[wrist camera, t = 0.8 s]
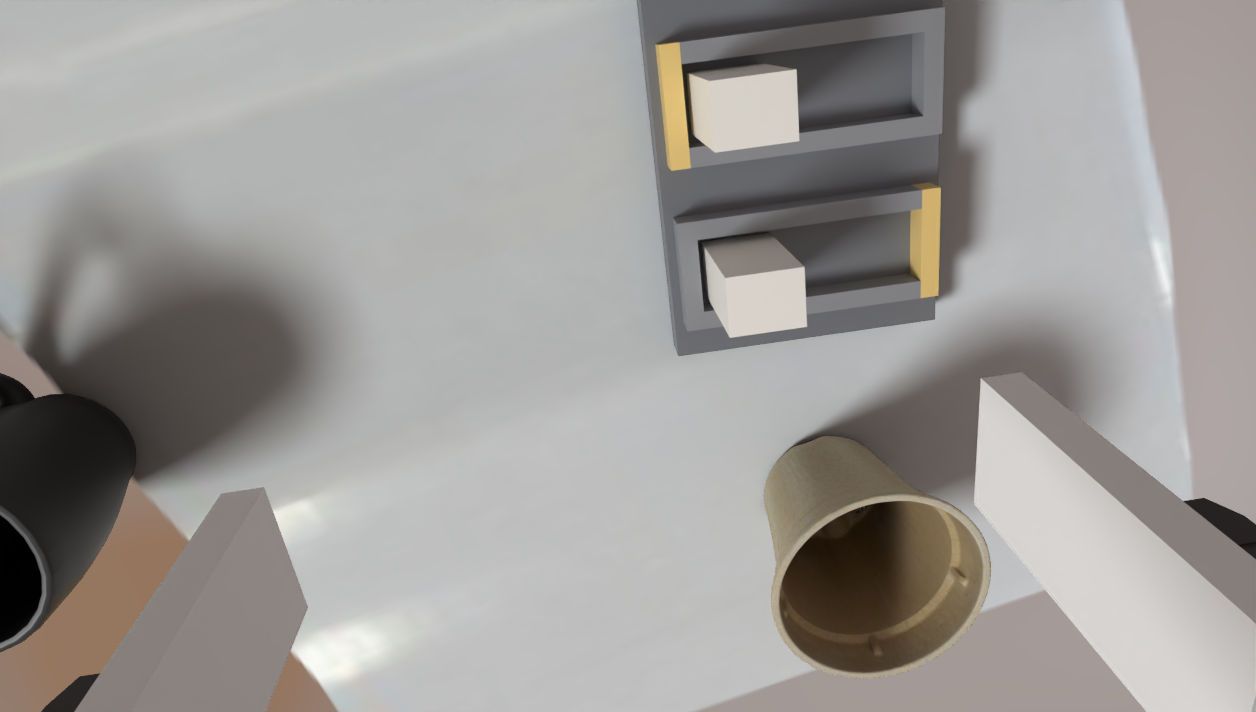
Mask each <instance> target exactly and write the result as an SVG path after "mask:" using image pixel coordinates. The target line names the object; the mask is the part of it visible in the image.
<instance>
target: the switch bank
mask: <svg viewBox="0 0 1256 712" xmlns="http://www.w3.org/2000/svg"><path fill="white" fill-rule="evenodd" d="M637 6H638V15H639V24H640V34H641V43H642V52H643V61H644V71H645V80H646V89H647V98H648V108H649V117H650V126H651V135H652V145H653V154H654V163H655V172H656V182H657V191H658V200H659V209H660V219H661V228H662V237H663V246H664V256H665V265H666V274H667V284H668V293H669V302H670V311H671V321H672V330H673V339H674V346H675V348H676V351H677V354H678V356H683V355H690V354H697V353H704V352H711V351H718V350H725V349H732V348H739V347H746V346H753V345H760V344H767V343H774V342H781V341H788V340H795V339H802V338H809V337H815V336H822V335H829V334H836V333H843V332H850V331H857V330H864V329H871V328H878V327H885V326H892V325H899V324H906V323H913V322H920V321H927V320H934V319H935V296H938V290H939V248H940V207H941V187H939V186H938V160H939V134H942V124H943V82H944V40H945V7H942V0H637ZM754 63H764V64H769V65H775V66H780V67H786V68H792V69H797V94H798V118H799V141H797V142H790V143H782V144H775V145H768V146H761V147H753V148H746V149H739V150H731V151H724V152H717V153H715V152H714V151H712V150H711V149H710V148H709V147H707V146H706V145H705V144H704V143H702V142H701V141H700V140H699V139H697V138H696V137H695V136H694V135H692V134H691V123H690V112H689V101H688V90H687V79H686V73H687V72H695V71H702V70H710V69H717V68H725V67H732V66H740V65H747V64H754ZM762 233H770V234H771V235H772V236H773V237H774V238H775V239H776V240H778V241H779V242H780V243H781V244H782V245H783V246H784V247H785V248H786V249H787V250H788V251H789V252H790V253H791V254H792V255H793V256H794V257H795V258H796V259H797V260H798V261H799V262H800V263H801V264H802V265H803V266H804V267H805V289H806V314H807V327H803V328H796V329H789V330H782V331H775V332H768V333H761V334H754V335H747V336H740V337H733V338H730V337H729V335H728V334H727V332H726V330H725V328H724V326H723V325H722V323H721V321H720V319H719V317H718V316H717V314H716V312H715V310H714V308H713V306H712V305H711V303H710V301H709V299H708V297H707V296H706V291H705V279H704V268H703V257H702V246H701V242H705V241H712V240H720V239H727V238H734V237H741V236H748V235H755V234H762Z"/></svg>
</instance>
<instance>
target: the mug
mask: <svg viewBox="0 0 1256 712" xmlns="http://www.w3.org/2000/svg"><path fill="white" fill-rule="evenodd" d="M135 465H136V449H135V445H134V441H133V439H132V436H131V435H130V433H129V431H128V429H127V428H126V426H125V425H124V424H123V423H122V421H121V420H120V419H119V418H118V417H117V416H116V415H115V414H113V413H112V412H111V411H110V410H108V409H107V408H105V407H104V406H102V405H100V404H98V403H96V402H94V401H92V400H89V399H86V398H83V397H80V396H74V395H67V394H53V395H47V396H42V397H38V398H34V396H33V395H32V394H31V392H30V391H29V390H28V389H27V388H26V387H25V386H24V385H23V384H21V383H20V382H19V381H17V380H15V379H14V378H11V377H9V376H7V375H4V374H1V373H0V652H2V651H4V650H6V649H8V648H11V647H13V646H15V645H17V644H19V643H21V642H23V641H25V640H26V639H27V638H28V637H29V636H31V635H32V634H33V633H34V632H35V631H36V630H38V629H39V628H40V627H41V626H42V625H43V624H44V622H45V621H46V620H47V619H48V618H49V617H50V615H51V614H52V613H53V612H54V611H55V610H56V608H57V607H58V606H59V605H60V604H61V603H62V601H63V600H64V599H65V598H66V597H67V596H68V595H69V593H70V592H71V591H72V590H73V588H74V587H75V586H76V585H77V584H78V583H79V581H80V580H81V579H82V578H83V576H84V575H85V573H86V572H87V570H88V569H89V567H90V566H91V564H92V563H93V561H94V560H95V558H96V556H97V555H98V553H99V552H100V550H101V549H102V547H103V546H104V543H105V542H106V540H107V538H108V536H109V534H110V532H111V530H112V528H113V526H114V523H115V521H116V519H117V516H118V514H119V511H120V508H121V505H122V502H123V499H124V496H125V493H126V489H127V486H128V483H129V480H130V478H131V476H132V474H133V471H134V468H135Z"/></svg>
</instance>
